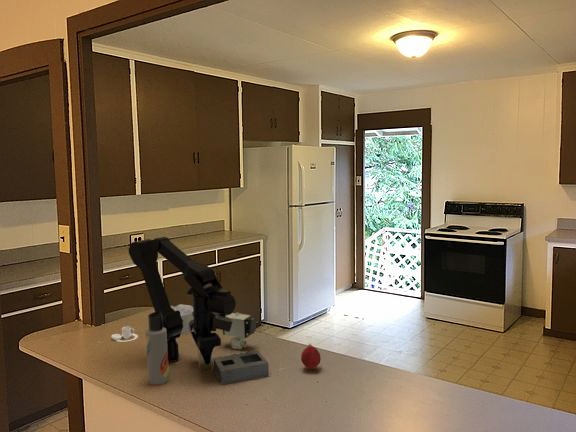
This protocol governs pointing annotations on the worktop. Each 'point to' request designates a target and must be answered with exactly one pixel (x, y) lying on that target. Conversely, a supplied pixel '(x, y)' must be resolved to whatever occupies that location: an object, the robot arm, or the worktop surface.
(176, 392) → the worktop surface
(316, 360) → the onion
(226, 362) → the socket block
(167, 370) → the lotion bottle
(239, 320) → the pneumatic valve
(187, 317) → the lumpy-topped squat cylinder
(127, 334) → the teacup and saucer
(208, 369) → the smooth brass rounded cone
